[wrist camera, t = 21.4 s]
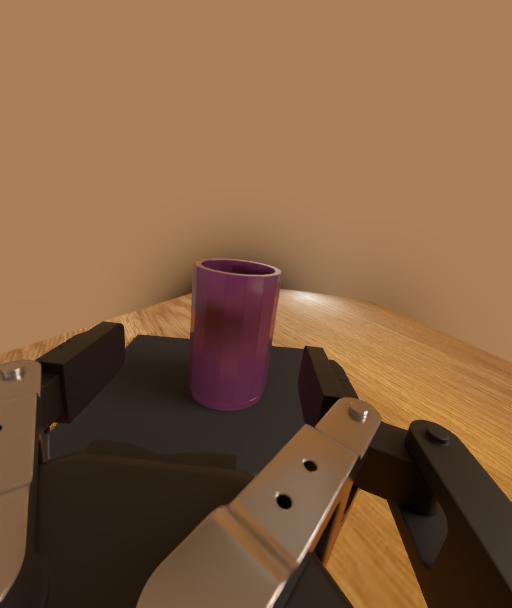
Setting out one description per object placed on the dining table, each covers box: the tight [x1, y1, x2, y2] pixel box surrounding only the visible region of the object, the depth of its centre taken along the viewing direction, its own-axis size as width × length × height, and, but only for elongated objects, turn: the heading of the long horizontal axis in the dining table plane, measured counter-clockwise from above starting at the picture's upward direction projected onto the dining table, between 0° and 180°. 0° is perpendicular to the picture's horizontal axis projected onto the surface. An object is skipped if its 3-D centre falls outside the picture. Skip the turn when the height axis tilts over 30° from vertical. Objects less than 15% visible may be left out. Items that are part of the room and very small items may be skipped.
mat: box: [50, 335, 305, 477], centre depth 22 cm, size 20×16×1 cm
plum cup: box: [188, 258, 282, 411], centre depth 21 cm, size 6×6×10 cm
